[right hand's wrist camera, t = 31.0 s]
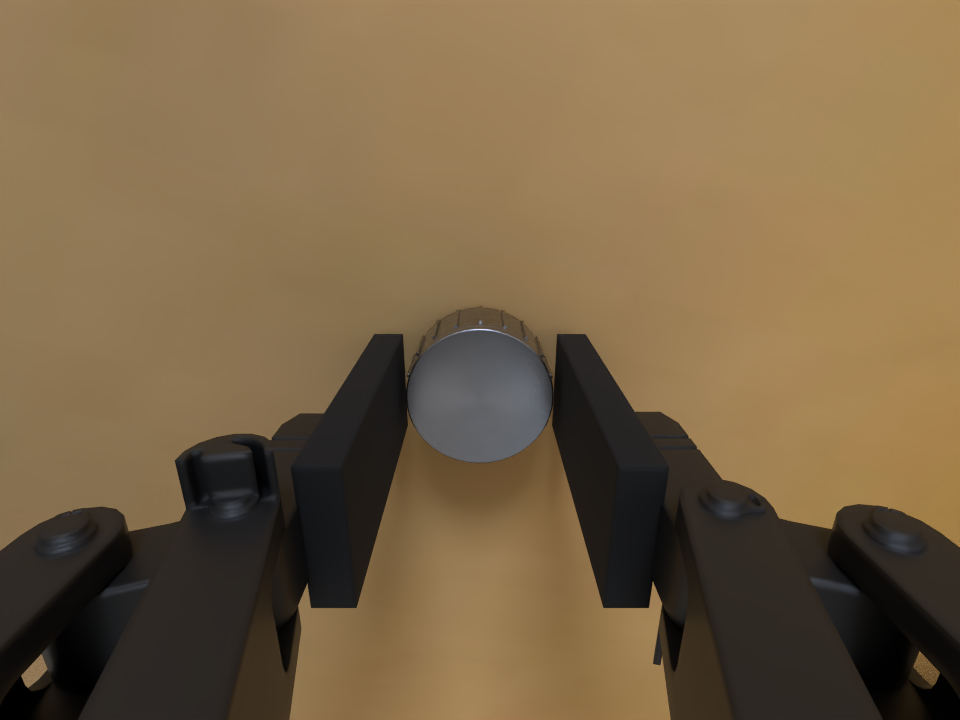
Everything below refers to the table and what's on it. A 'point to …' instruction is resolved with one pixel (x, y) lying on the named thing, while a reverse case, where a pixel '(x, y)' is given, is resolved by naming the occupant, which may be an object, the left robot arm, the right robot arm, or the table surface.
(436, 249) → the table surface
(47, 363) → the table surface
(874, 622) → the right robot arm
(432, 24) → the table surface
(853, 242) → the table surface
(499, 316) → the cap
